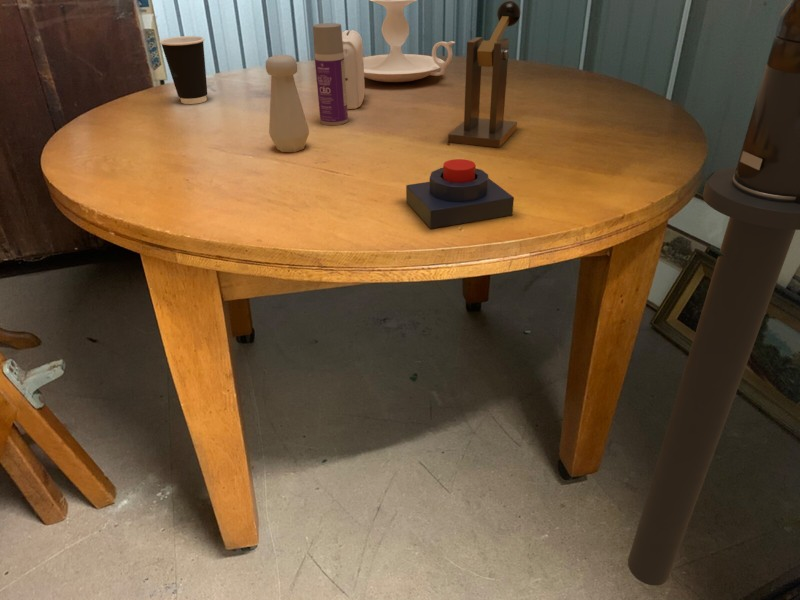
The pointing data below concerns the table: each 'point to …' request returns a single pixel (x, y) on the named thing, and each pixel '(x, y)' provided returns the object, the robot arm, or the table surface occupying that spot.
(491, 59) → the lock lever
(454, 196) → the button housing
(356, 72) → the photo printer
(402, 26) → the candlestick
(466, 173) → the release button
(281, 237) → the table surface
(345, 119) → the container
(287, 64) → the salt shaker
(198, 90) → the dixie cup
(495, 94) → the lever stand
